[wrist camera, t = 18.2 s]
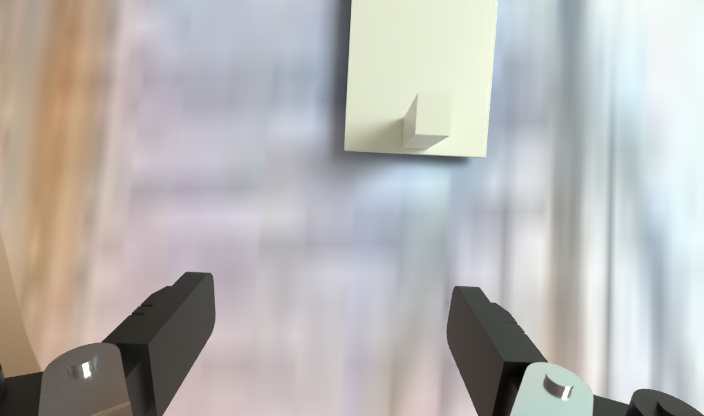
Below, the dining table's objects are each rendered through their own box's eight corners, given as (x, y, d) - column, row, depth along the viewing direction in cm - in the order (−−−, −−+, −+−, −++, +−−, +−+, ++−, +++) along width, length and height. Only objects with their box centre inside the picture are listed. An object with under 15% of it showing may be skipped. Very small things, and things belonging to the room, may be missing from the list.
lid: (354, -36, 35) (350, -138, 24) (493, -32, 34) (554, -134, 23) (345, 152, 36) (336, 137, 25) (478, 158, 36) (529, 146, 25)
